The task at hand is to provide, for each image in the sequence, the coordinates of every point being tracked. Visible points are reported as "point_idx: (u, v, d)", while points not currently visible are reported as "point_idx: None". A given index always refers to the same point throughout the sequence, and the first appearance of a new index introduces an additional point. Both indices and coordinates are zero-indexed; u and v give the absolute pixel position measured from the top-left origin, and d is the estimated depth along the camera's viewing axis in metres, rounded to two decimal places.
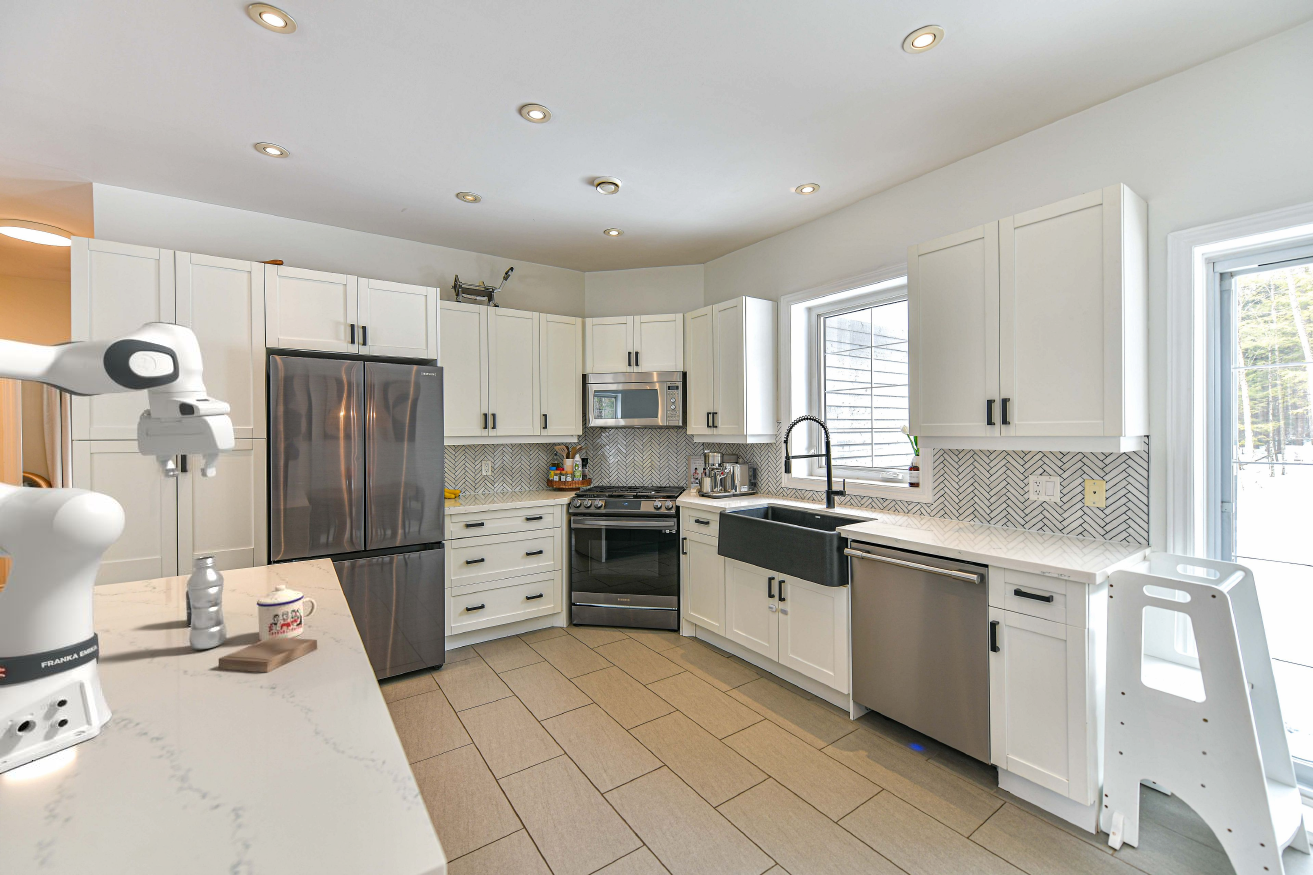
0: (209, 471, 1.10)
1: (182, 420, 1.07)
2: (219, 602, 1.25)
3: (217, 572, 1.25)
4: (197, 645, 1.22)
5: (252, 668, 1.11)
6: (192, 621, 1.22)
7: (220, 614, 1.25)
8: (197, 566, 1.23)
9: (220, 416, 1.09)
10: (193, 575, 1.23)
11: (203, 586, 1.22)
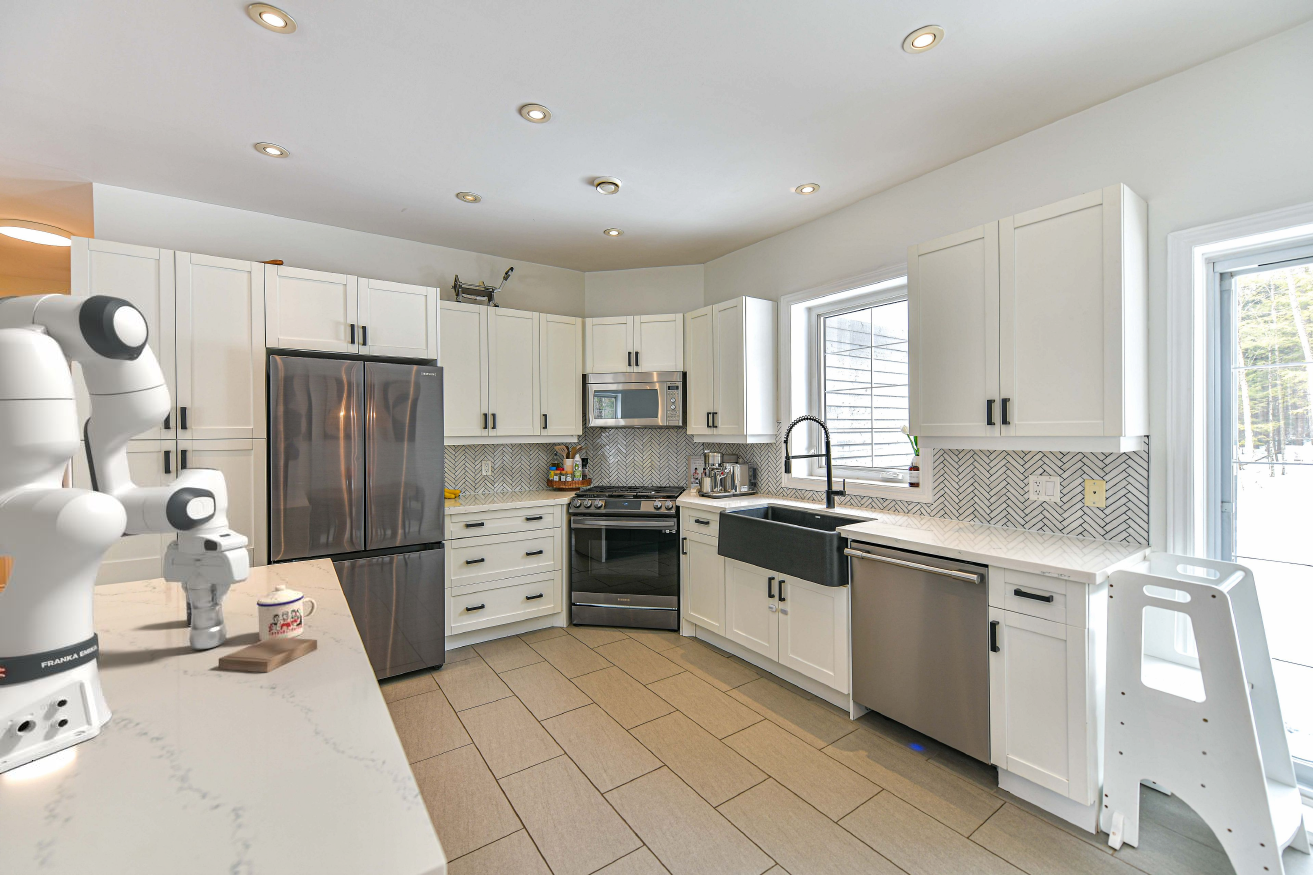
0: (220, 598, 1.23)
1: (205, 554, 1.21)
2: None
3: None
4: (197, 645, 1.22)
5: (252, 668, 1.11)
6: (192, 621, 1.22)
7: (220, 614, 1.25)
8: (197, 566, 1.23)
9: (239, 549, 1.24)
10: (193, 575, 1.23)
11: (203, 586, 1.22)
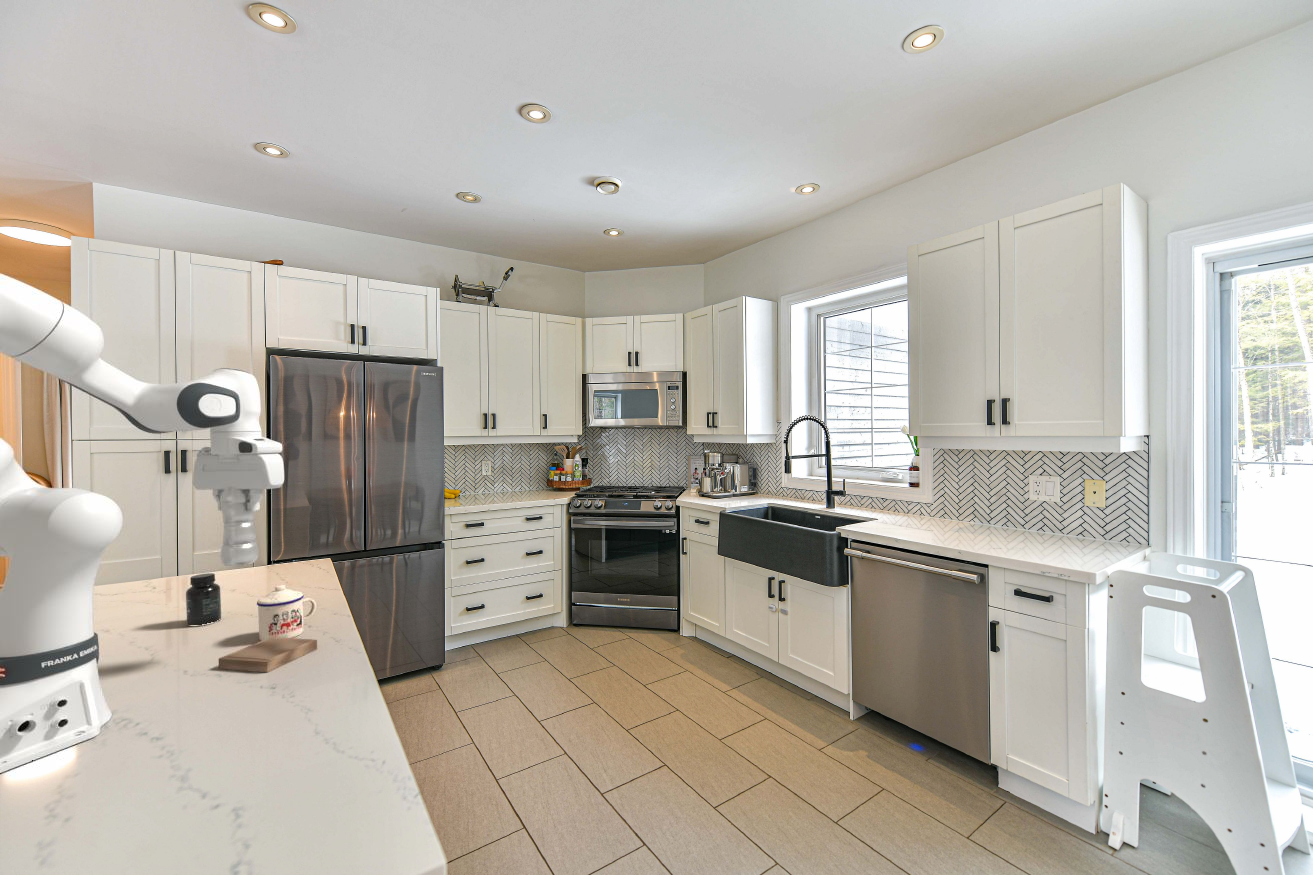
0: (254, 505, 1.19)
1: (239, 457, 1.16)
2: (252, 519, 1.20)
3: None
4: (229, 560, 1.17)
5: (252, 668, 1.11)
6: (224, 536, 1.18)
7: (253, 531, 1.20)
8: None
9: (274, 454, 1.19)
10: (227, 488, 1.18)
11: (236, 499, 1.17)
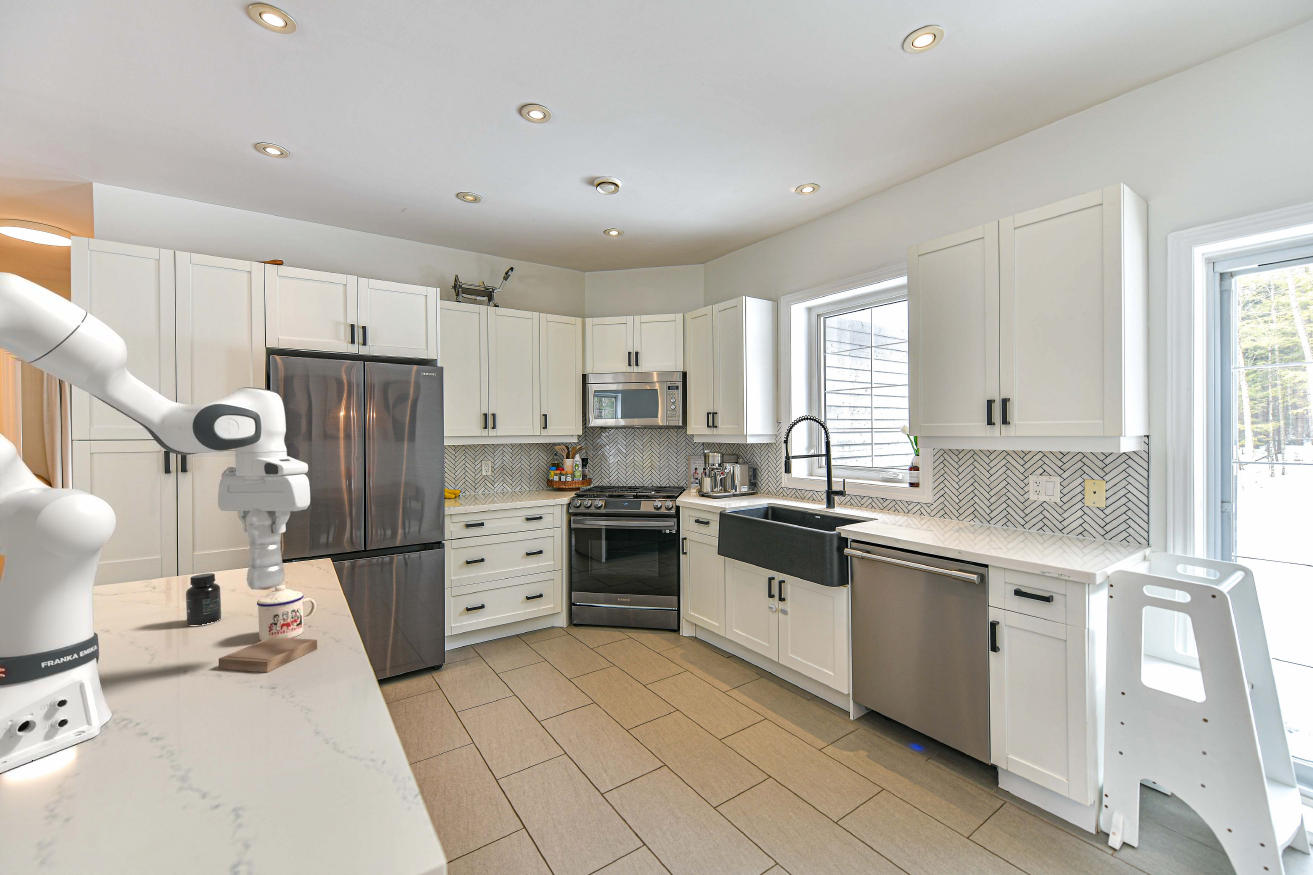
0: (280, 527, 1.16)
1: (265, 479, 1.13)
2: (278, 541, 1.18)
3: None
4: (255, 584, 1.14)
5: (252, 668, 1.11)
6: (250, 559, 1.15)
7: (279, 554, 1.18)
8: None
9: (299, 475, 1.16)
10: (252, 510, 1.15)
11: (262, 521, 1.15)
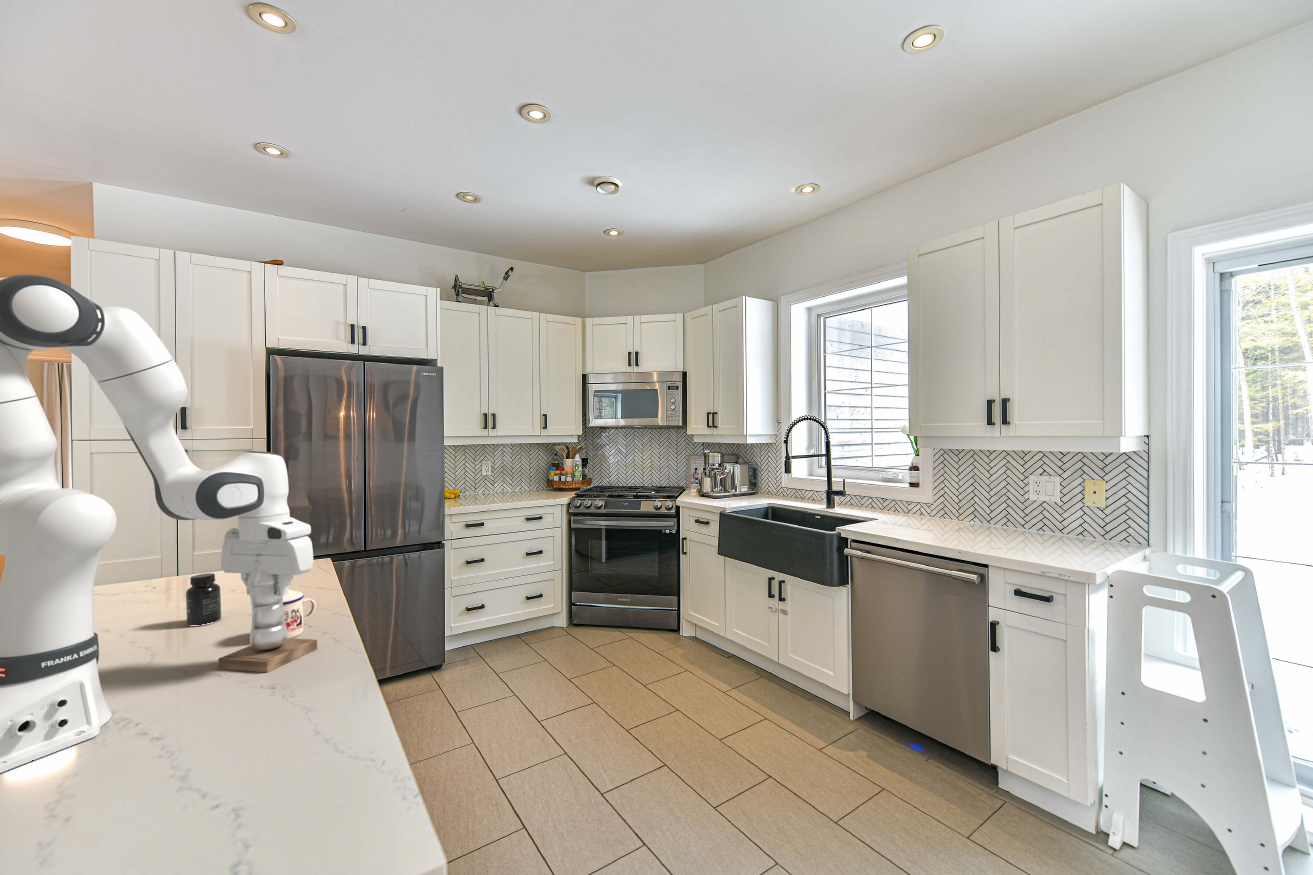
0: (283, 590, 1.16)
1: (268, 543, 1.14)
2: (280, 600, 1.18)
3: None
4: (258, 645, 1.14)
5: (252, 668, 1.11)
6: (253, 620, 1.15)
7: (281, 613, 1.18)
8: (258, 562, 1.15)
9: (302, 538, 1.16)
10: (254, 571, 1.15)
11: (264, 583, 1.15)
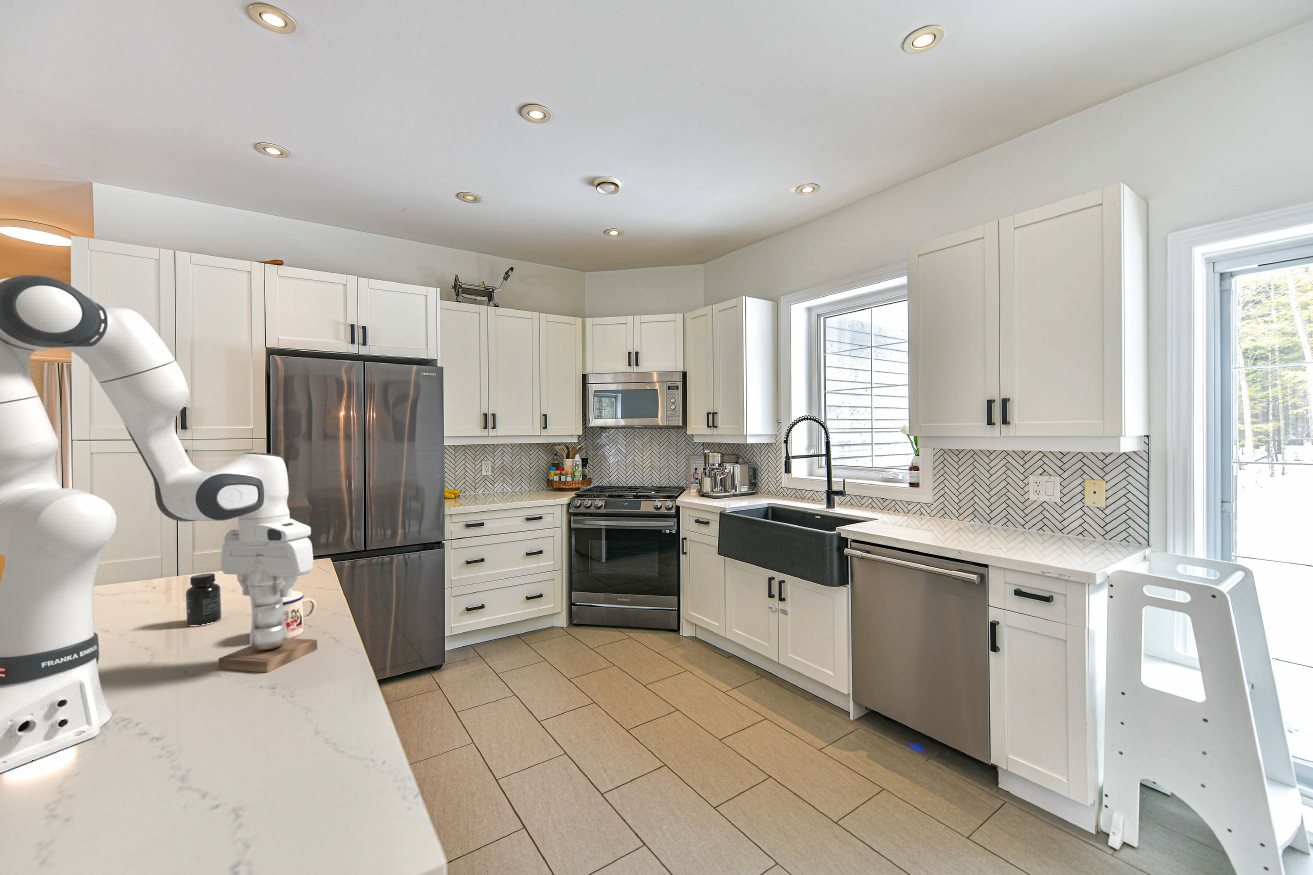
0: (287, 592, 1.16)
1: (268, 544, 1.14)
2: (280, 600, 1.18)
3: None
4: (258, 645, 1.14)
5: (252, 668, 1.11)
6: (253, 620, 1.15)
7: (281, 613, 1.18)
8: (258, 562, 1.15)
9: (302, 539, 1.16)
10: (254, 571, 1.15)
11: (264, 583, 1.14)
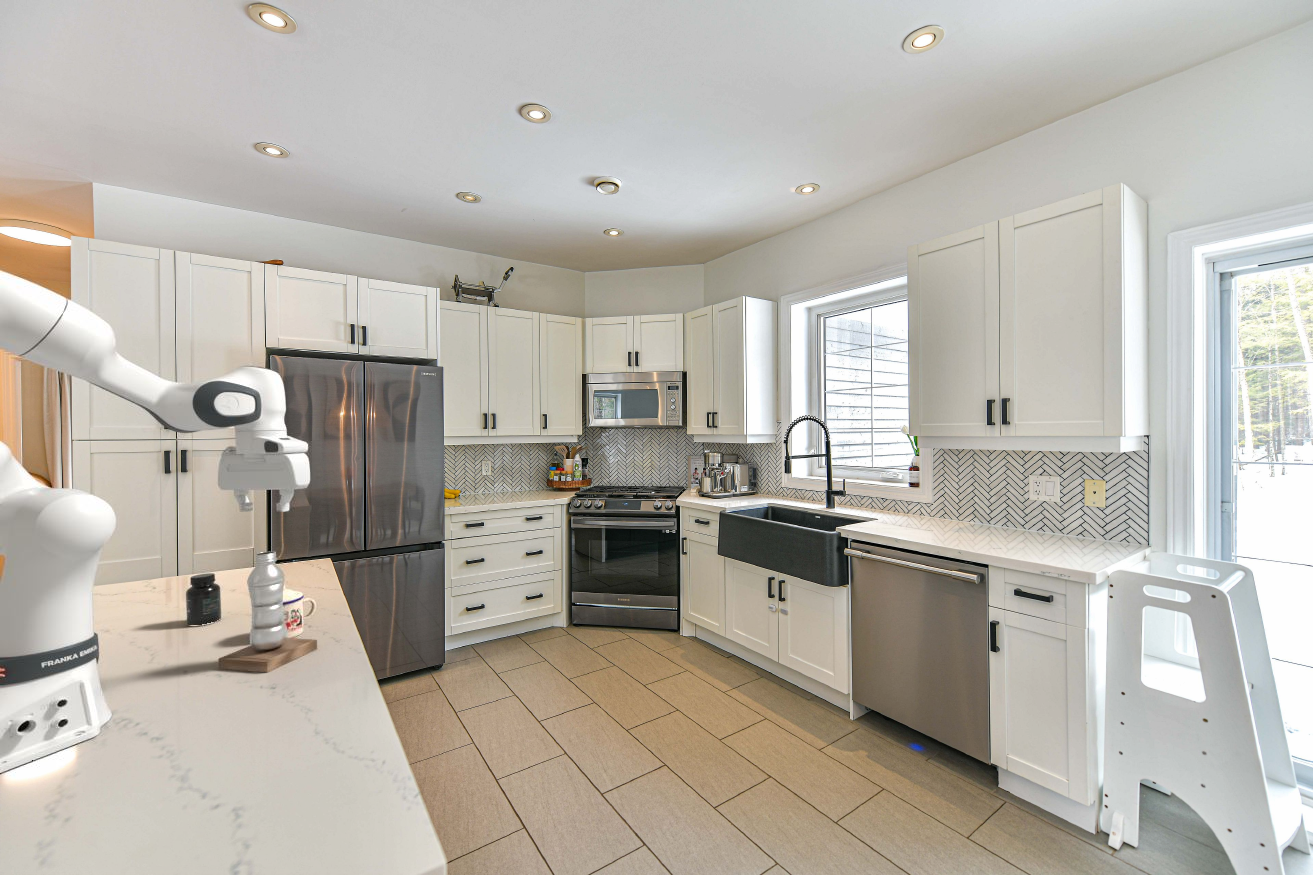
0: (284, 506, 1.16)
1: (265, 457, 1.13)
2: (280, 600, 1.18)
3: (278, 568, 1.18)
4: (258, 645, 1.14)
5: (252, 668, 1.11)
6: (253, 620, 1.15)
7: (281, 613, 1.18)
8: (258, 562, 1.15)
9: (299, 454, 1.16)
10: (254, 571, 1.15)
11: (264, 583, 1.14)
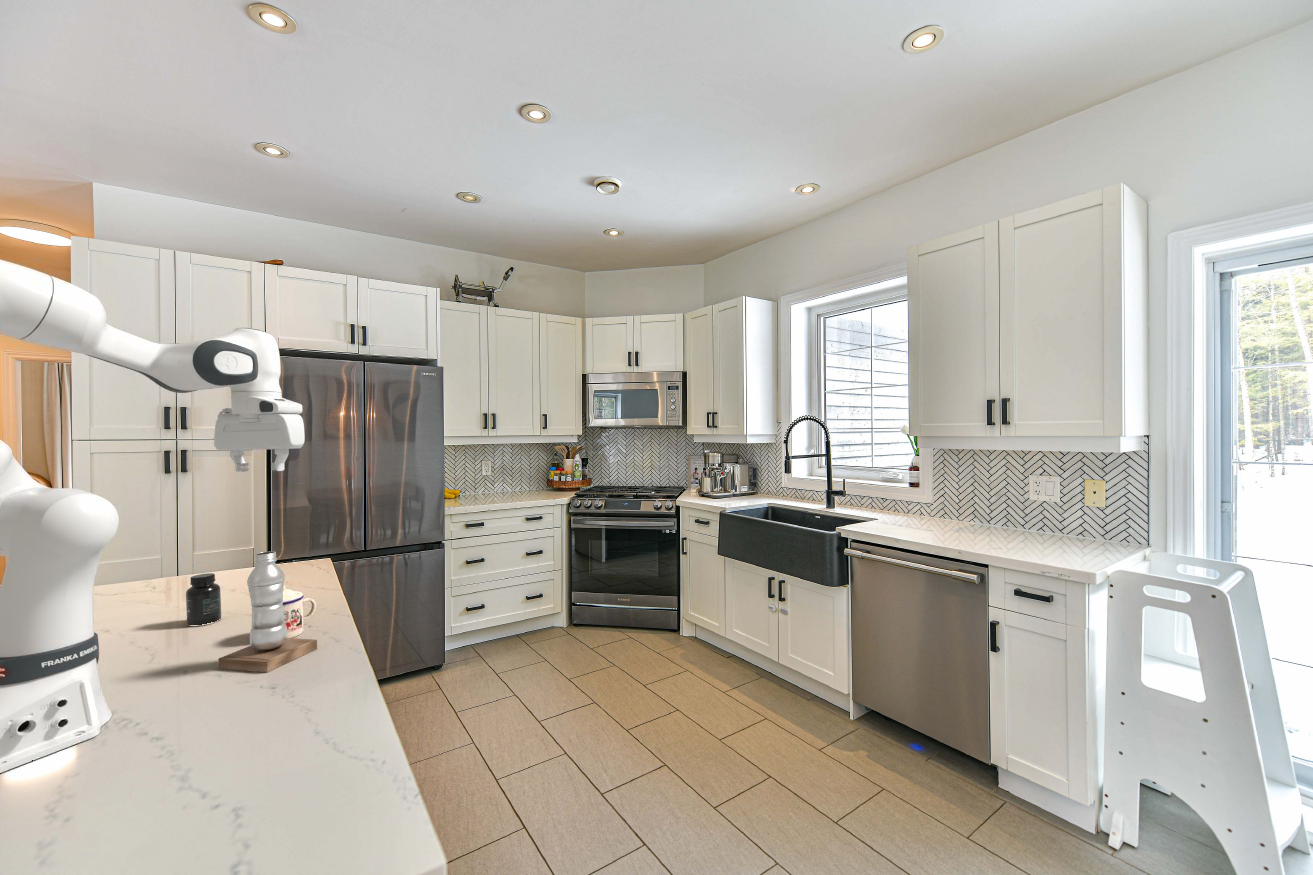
0: (279, 466, 1.18)
1: (260, 417, 1.16)
2: (280, 600, 1.18)
3: (278, 568, 1.18)
4: (258, 645, 1.14)
5: (252, 668, 1.11)
6: (253, 620, 1.15)
7: (281, 613, 1.18)
8: (258, 562, 1.15)
9: (294, 415, 1.19)
10: (254, 571, 1.15)
11: (264, 583, 1.14)
